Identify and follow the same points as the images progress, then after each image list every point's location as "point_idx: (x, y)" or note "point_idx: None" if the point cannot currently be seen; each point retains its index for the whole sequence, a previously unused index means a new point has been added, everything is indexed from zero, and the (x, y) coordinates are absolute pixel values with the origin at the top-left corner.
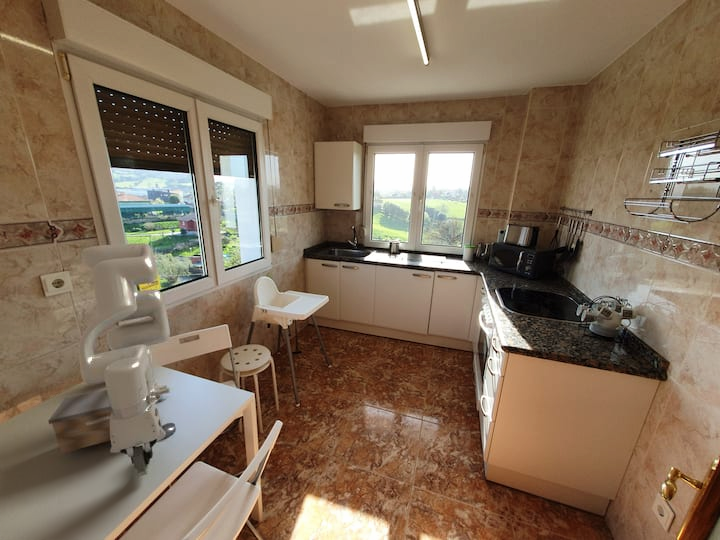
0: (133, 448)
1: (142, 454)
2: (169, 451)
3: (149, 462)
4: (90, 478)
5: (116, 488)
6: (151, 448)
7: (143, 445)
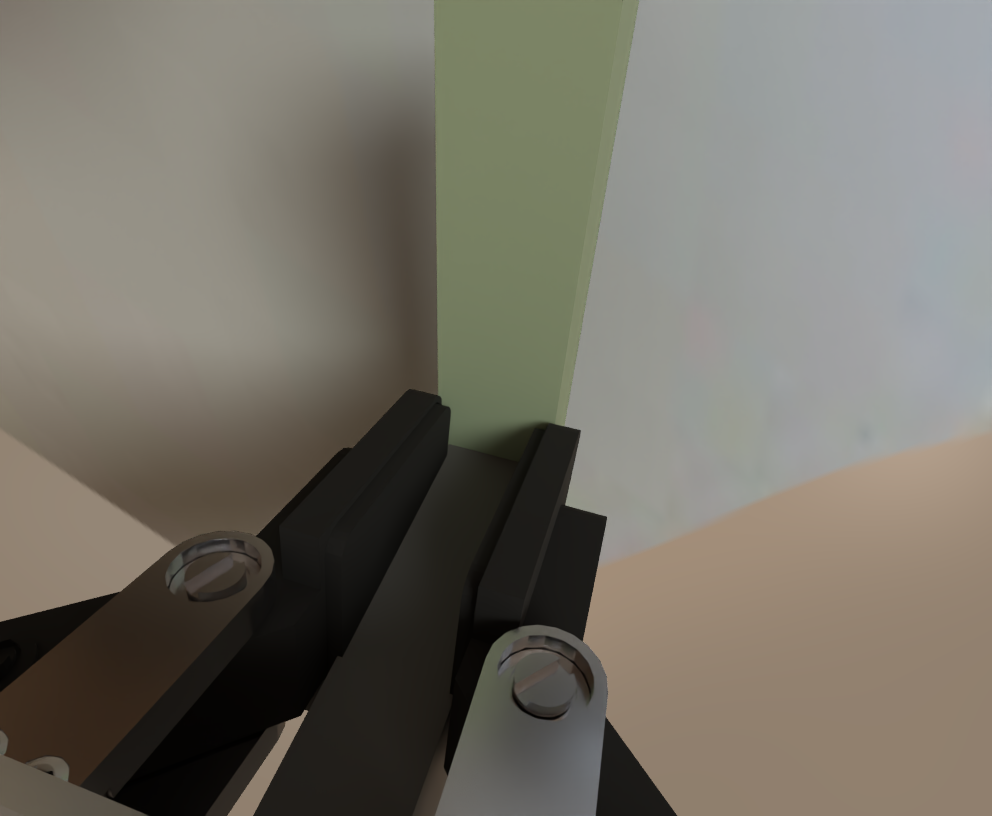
0: (223, 684)
1: (433, 803)
2: (845, 130)
3: (566, 411)
4: (33, 66)
5: (312, 365)
6: (585, 620)
7: (443, 160)
